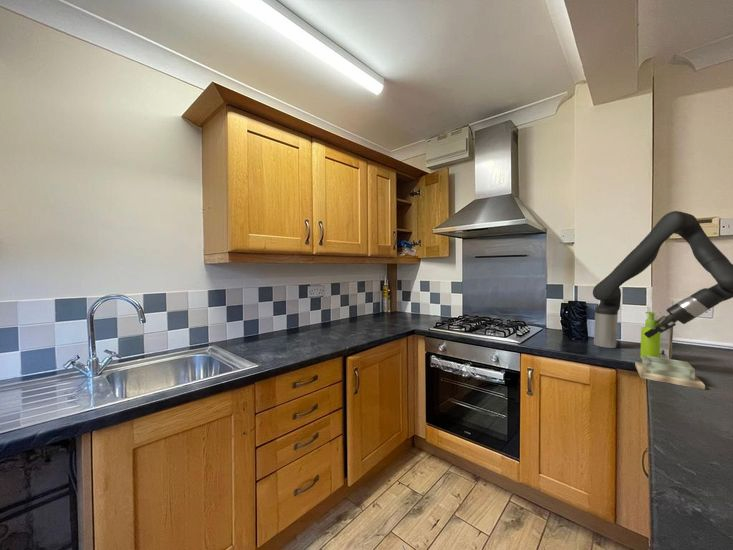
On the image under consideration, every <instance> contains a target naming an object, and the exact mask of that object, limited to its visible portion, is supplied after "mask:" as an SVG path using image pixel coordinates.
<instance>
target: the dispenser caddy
mask: <svg viewBox="0 0 733 550" xmlns="http://www.w3.org/2000/svg"><path fill="white" fill-rule="evenodd" d="M641 359H642V362H637V361H635V362H634V365H635V368H636V371H637V373H638V375H639V378H640V379H644V380H649V381H656V382H661V383H662V382H663V383H666V384H667V383H668V384H671V385H672V384H673V385H679V386H685V387H689V388H694V389H699V390H705V389H706V385H705V384H704V382H703V381H701V379H700V378H699V377H698V376H697V375H696V369H695V368H694V367H693V366H692V365H691V364H690V363H689V362H688V361H684V360H679V359H678V360H677V359H672V358H671V359H665V358H658V357H651V356H644V355H643V357H642V358H641Z"/></svg>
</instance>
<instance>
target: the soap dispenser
mask: <svg viewBox="0 0 733 550" xmlns="http://www.w3.org/2000/svg"><path fill="white" fill-rule="evenodd" d="M645 314H648V315H647V316H648V317H647V319H645V326H643V327H641V328H640V329H641V331H640V355H639V356H640V359H642V357H643V355H644V356H651V357H658V358H660V333H658V332H657V334H655V335H653V336H651V337H650V338H648V337H647V336H645V335H644V333H645V332H647V331H649V330H650V329H653V327H655V326H656V324H657V321H656V319H655V315H656V313H655V312H653V311H645Z"/></svg>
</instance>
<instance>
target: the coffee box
mask: <svg viewBox="0 0 733 550" xmlns="http://www.w3.org/2000/svg"><path fill="white" fill-rule="evenodd" d="M673 335H674V326H673V327H671V328H669V329H667V330H666V331H664V332H662V333H660V358H665V359H672V358H673V340H674V339H673Z"/></svg>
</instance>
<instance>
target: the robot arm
mask: <svg viewBox="0 0 733 550" xmlns="http://www.w3.org/2000/svg"><path fill="white" fill-rule="evenodd" d="M674 234H675V235H678V236H679V237H681V238H682V239H684V240H685V241H686V243H687V244H688V246H689V247H690V249H691V251H692V254H693V256H694V258H695V259H696V261H697V263H699V264H700V266H702V268H703V269H704V270H705V271H707V272H708V273H709V274H710V275H711V276H712V278H713V279H714V280H715V282H717V283H716V284H715V285H712V286H710V287H708V288H701V289H699V290H697V291H696V292H694V293H692V294H691V295H689V296H687V297H685V298H683V299H681V300H679V301H678V302H676V303H675V304H673V305H671V306H670V307H668V308H666V310H665V311H666V312H667V313H668V315H666V316H665V315H662V316H660V317H659V318H657V319H655V321H657V324H656V326H655V327H653V329H650V330H649V331H647V332H645V333H644V335H645V336H647V337H648V338H650V337H651V336H653V335H655V334H657V332H658V333H662V332H664V331H666V330H667V329H669V328H671V327H673V328H674V327H675V326H677V324H676V323H678V322H680V323H681V324H683V325H686V324H687V323H689V322H691V321H693V320H694V319H696V318H697V317H700V316H701V315H703V314H705V313H706V312H707V311H708V310H711V309H712V308H714V307H716V306H717V305H719V304H720V303H722V302H725V301H728V300H731V299H732V298H733V263H732V262H731V261H730V260H729V259H728V258H727V256H725V254H724V253H723V252H722V251H721V250H720V249H719V248H718V247H717V246H716V244H714V243H713V242H712V241H711V238H709V236H708V235H707V234H706V232H705V231H704V229H703V227H702V226H701V224H700V223H699V220H698V219H697V217H695V215H693V214H690V213H687V212H683V211H680V210H674V211H670V212H668V213H665V214H664V215H663V216H662V217H661V218H660V219H659V221H657V223H656V224H655V225H654V227H652V229H651V230H650V232H649V233H647V235H646V236H645V237H644V238H643V239H642V240H641V241H640V242H639V243H638V245H636V247H635V248H634V249H632V250H631V252H629V253H628V254H627V255H626V256H625V257H624V259H623V260H622V261H620V263H619V264H618V265H617V266H616V267H615V268H614V269H613V270H612V271H611V272H610V274H609V273H608V275H607V276H606V277H604V278H603V279H602V280H601V281H600V282H598V283H597V284H596V285H595V286H594V287H593V290H592V295H593V298H594V299H596V300H598V301H599V304H597V306H596V307H595V310H594V311H595V312H594V327H593V328H594V331H593V332H594V333H593V346H597V347H601V348H606V349H615V348H617V340H618V339H617V336H618V320H619V318H618V315H619V310H620V307H621V302H622V290H621V288H620V287H621V286H622V285H623V284H624V283H626V282H627V281H629V280H631V279H633V278H634V277H636V276H638V275H640V274H641V273H642V272H643V271H645V270H646V269H648V267H650V266H651V264H653V263H654V262H655V260H656V259H657V256H658V255H659V252H660V249H661V246H663V244H664V243H665V242H666V241H667V240H668V239H669V238H670V237H671V236H672V235H674Z"/></svg>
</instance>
